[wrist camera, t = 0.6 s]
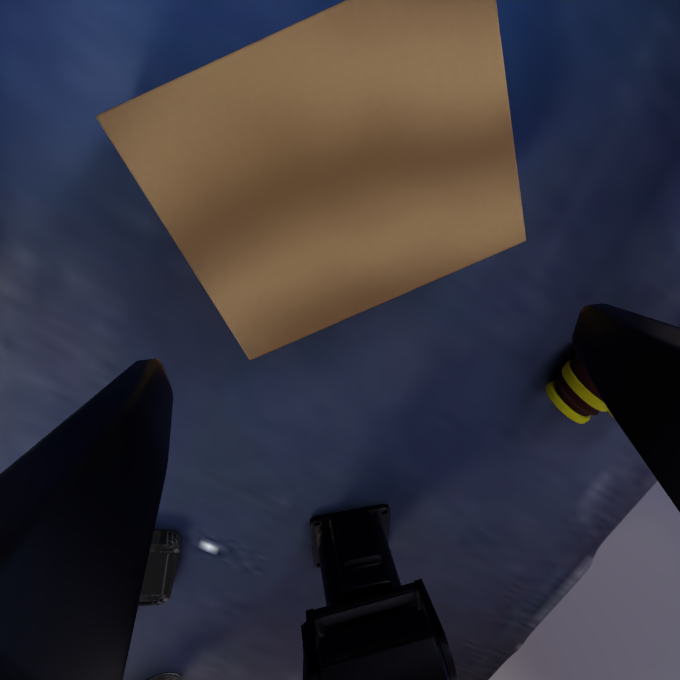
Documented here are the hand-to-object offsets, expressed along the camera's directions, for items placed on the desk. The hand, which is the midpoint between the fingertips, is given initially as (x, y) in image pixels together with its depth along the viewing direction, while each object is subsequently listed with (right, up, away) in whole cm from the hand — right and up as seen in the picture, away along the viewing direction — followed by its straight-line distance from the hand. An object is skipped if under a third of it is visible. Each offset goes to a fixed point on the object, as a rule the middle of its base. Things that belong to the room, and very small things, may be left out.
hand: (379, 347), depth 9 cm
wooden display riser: (-1, +8, +12) cm, 14 cm away
